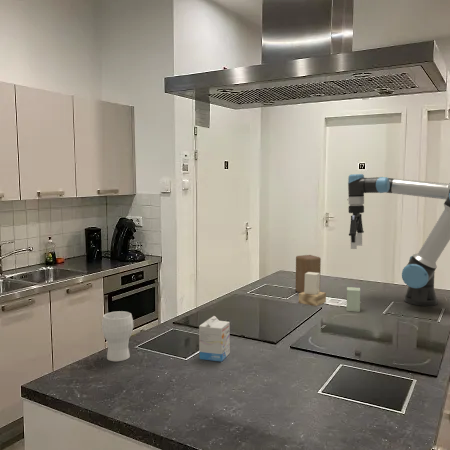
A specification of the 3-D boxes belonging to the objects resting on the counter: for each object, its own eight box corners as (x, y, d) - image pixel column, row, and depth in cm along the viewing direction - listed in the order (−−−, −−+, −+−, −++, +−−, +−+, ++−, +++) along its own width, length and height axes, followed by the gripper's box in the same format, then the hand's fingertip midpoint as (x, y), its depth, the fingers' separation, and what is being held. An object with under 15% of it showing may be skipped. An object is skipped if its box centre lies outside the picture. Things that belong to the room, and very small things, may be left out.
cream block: (319, 292, 233) (320, 272, 232) (316, 295, 227) (316, 274, 227) (307, 291, 236) (308, 271, 235) (304, 293, 230) (304, 273, 229)
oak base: (325, 302, 233) (326, 292, 233) (316, 306, 225) (316, 296, 225) (308, 299, 239) (308, 289, 239) (298, 303, 231) (298, 293, 231)
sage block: (359, 308, 221) (360, 287, 220) (359, 311, 215) (360, 290, 214) (346, 307, 223) (346, 287, 222) (346, 310, 217) (346, 290, 216)
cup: (133, 362, 156) (132, 318, 155) (101, 364, 155) (99, 320, 153) (134, 350, 167) (133, 310, 165) (104, 352, 165) (102, 311, 163)
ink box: (221, 362, 156) (221, 323, 155) (198, 359, 159) (198, 321, 158) (230, 353, 164) (230, 316, 163) (208, 350, 167) (208, 314, 166)
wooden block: (294, 291, 254) (295, 255, 252) (309, 289, 259) (310, 254, 257) (305, 295, 245) (305, 258, 243) (320, 293, 250) (321, 257, 248)
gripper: (354, 204, 245) (354, 243, 246) (342, 206, 223) (343, 250, 224) (368, 203, 241) (368, 244, 243) (358, 206, 219) (359, 250, 221)
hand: (356, 247), depth 234 cm, fingers open, 13 cm apart
